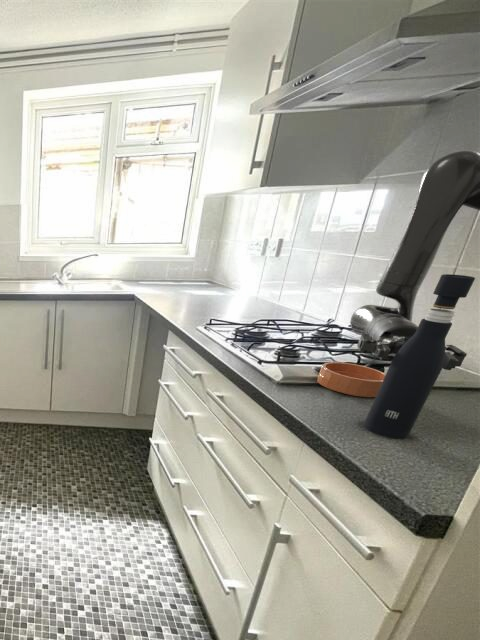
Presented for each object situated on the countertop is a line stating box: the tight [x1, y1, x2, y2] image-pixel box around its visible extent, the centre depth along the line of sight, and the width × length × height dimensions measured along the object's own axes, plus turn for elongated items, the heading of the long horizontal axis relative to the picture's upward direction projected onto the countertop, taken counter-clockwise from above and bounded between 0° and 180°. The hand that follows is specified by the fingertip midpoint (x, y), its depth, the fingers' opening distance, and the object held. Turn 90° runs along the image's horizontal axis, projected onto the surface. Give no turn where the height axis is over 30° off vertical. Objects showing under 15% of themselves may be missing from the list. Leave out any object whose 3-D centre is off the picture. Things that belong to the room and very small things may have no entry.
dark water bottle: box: [363, 273, 476, 440], centre depth 75 cm, size 6×6×30 cm
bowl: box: [316, 361, 386, 398], centre depth 100 cm, size 12×12×4 cm
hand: (417, 359), depth 75 cm, fingers open, 8 cm apart
